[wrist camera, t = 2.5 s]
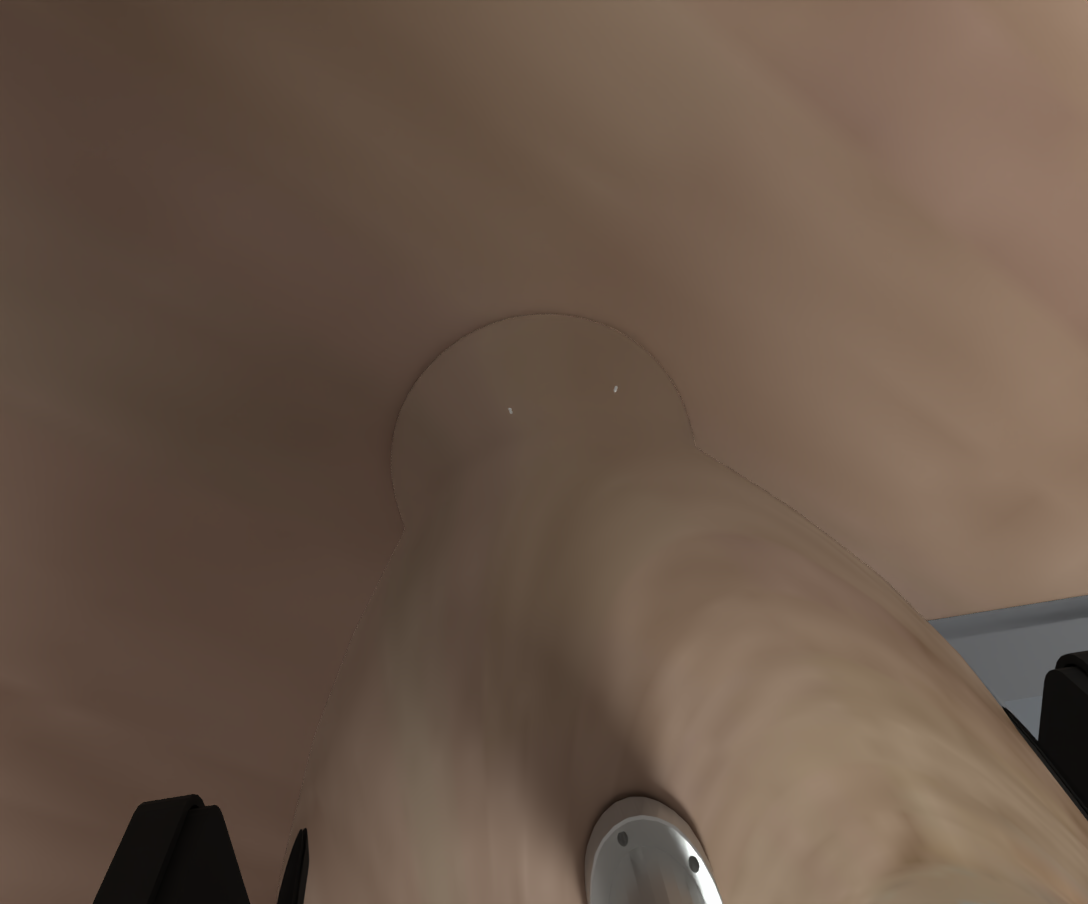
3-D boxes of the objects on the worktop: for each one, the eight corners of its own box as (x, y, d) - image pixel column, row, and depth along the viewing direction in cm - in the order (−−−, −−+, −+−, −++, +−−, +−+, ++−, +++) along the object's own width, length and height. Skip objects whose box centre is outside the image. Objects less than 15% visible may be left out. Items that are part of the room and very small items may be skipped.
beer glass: (757, 514, 19) (1578, 1600, 5) (473, 655, 20) (554, 1970, 6) (623, 222, 17) (1565, 880, 3) (300, 394, 17) (-284, 1667, 3)
